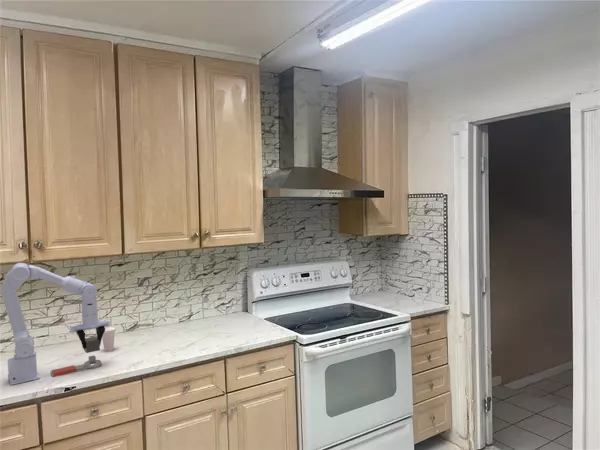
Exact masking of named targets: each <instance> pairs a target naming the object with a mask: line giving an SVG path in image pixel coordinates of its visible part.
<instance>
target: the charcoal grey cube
mask: <svg viewBox="0 0 600 450" xmlns="http://www.w3.org/2000/svg"><path fill="white" fill-rule="evenodd" d="M85 345H86V348H85V349H83V351H84V352H85V354H89V353H94V352H98V351H100V350H101V349H100V348H101V344H100V342H99V339H98V338H97V336H93V337H87V338H86V337H85Z"/></svg>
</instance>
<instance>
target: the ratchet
mask: <svg viewBox="0 0 600 450" xmlns="http://www.w3.org/2000/svg"><path fill="white" fill-rule="evenodd" d="M102 365H103V364H102V360H101V359H96V356H95V355H90V356H88V360H87V361H85V362H84V363H83V364H79V365H74V364H72V365H70V366H65V367H64V366H63V367H60V368H56V369H51V371H50V376H51V377H52V378H56V377H60V376H64V375H68V374H74V373H77V372H81V371H86V370H95V369H98V368H100V367H102Z"/></svg>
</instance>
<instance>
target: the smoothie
mask: <svg viewBox="0 0 600 450" xmlns="http://www.w3.org/2000/svg"><path fill="white" fill-rule="evenodd" d="M105 321H108V320H107V319H105ZM115 335H116V327H113V326H105V332H104V334H103V336H102V339H101V341H102V344H103V345H102V346H103V349H104V352H106V353H107V352H112V351H114V346H115Z"/></svg>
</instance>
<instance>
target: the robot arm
mask: <svg viewBox="0 0 600 450" xmlns="http://www.w3.org/2000/svg"><path fill="white" fill-rule="evenodd" d="M29 278H30V281H31V280H36V279H41V280H43V281H47V282H50V283H53V284H56V285H58V286H60V289H61V290H63V291H65V292H68V293H70V294H74V295H76V296H81V321H82V324H79V325H74V326H70V329H69V330H70V333H71V334H72V333H76V335H77V336H78V337H79V340H80V343H81V347H82V350H84V349H85V348H86V345H85V339H86V332H85V331H87V330H92V329H93V330H94V329H95V330H96V337H97V338H98V339H99V342H100V345H101V344H102V343H101V342H102V336H103V334H104V332H105V328H106V326H107V327H111V323H110V321H109V320H107V321H106V320H104V321H103V320H102V321H99V319H98V318H99V316H98V301H97V296H98V290H97V288H96V286H95V285H94V284H92V283H91V282H88V281H86V280H84V281H83V280H81V279H78V278H76V276H75V275H72V276H70V275H67V276H65V277H63V276H61V275H59V274H56V273H53V272H51V271H49V270H47V269H44V268H42V267H38V266H36V265H32V264H27V263H25V262H18V263H15V264H14V265H12V267H11V268H10V269H9V270H8V271H7V274H6V276H5V278H4V280H3V283H2V284H1V287H0V292H1V296H2V299H3V303H4V305H5V309H6V313H7V316H8V320H9V322H10V323H9V324H10V327H11V331H12V334H13V339H14V343H15V344H14V345H15V346H14V354H13V357H11V358H8V359H7V378H8V382H9V383H10V386H12V385H17V384H21V383H25V382H26V383H27V382H30V381H31V382H32V381H34V380H39V379H41V378H40V375H39V373H38V367H37V365H38V364H37V352H36V351H35V347H34V345H35V339H34V338H33V337H32V336H31V335H30V333H29V330H28V327H27V324H26V321H25V317H24V314H23V309H22V307H21V303H20V300H19V296H18V294H17V290H18V289H19V287H20V286H21V285H22V284H23V283H25V282H26V281H27V280H28V279H29Z"/></svg>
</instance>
